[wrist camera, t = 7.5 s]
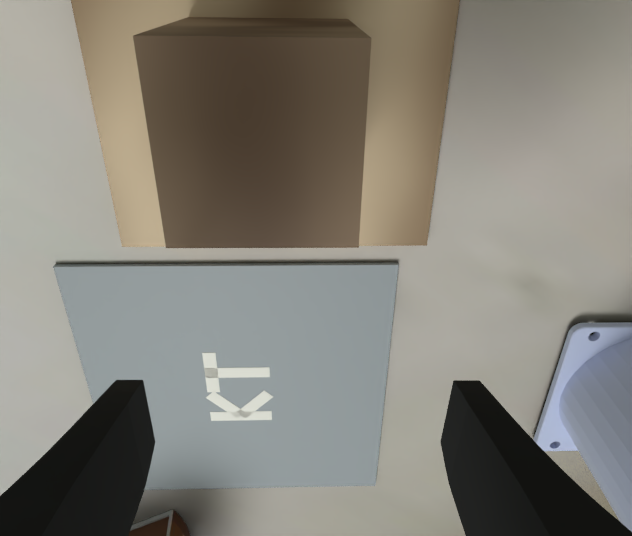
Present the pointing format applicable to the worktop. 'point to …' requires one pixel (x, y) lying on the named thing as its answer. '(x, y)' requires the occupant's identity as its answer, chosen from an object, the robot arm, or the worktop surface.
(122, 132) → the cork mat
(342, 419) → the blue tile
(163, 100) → the walnut block
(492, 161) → the worktop surface
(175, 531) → the food container
